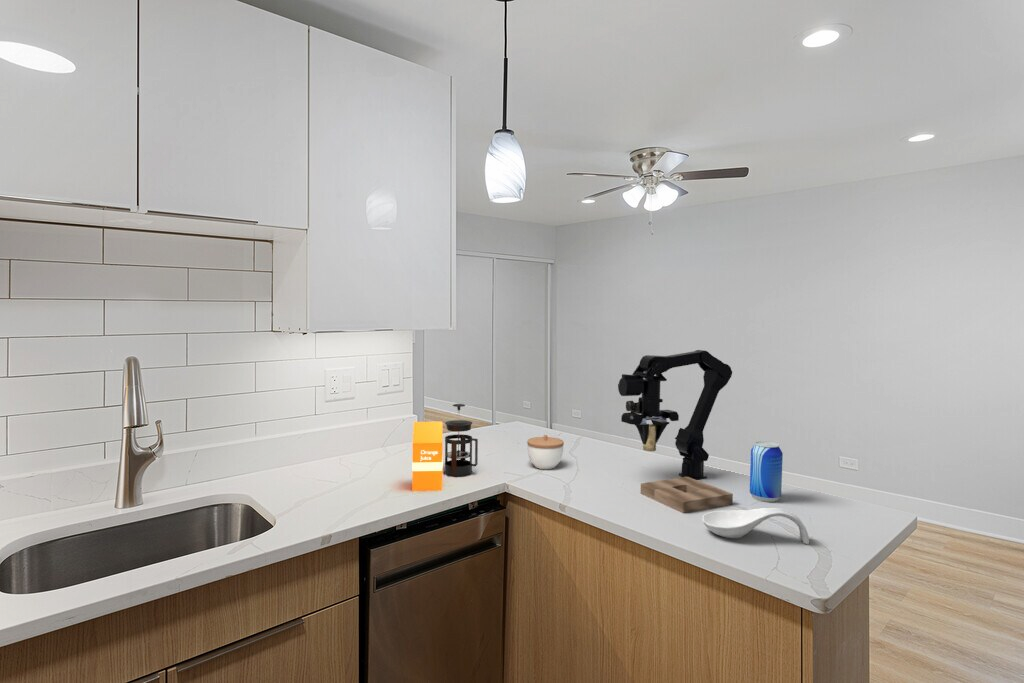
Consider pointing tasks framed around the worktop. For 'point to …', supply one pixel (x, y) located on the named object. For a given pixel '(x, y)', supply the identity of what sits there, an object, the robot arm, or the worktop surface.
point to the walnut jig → (686, 494)
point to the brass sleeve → (651, 439)
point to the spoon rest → (747, 521)
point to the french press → (460, 466)
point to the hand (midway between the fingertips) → (649, 443)
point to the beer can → (766, 471)
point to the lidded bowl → (545, 451)
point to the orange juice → (427, 456)
